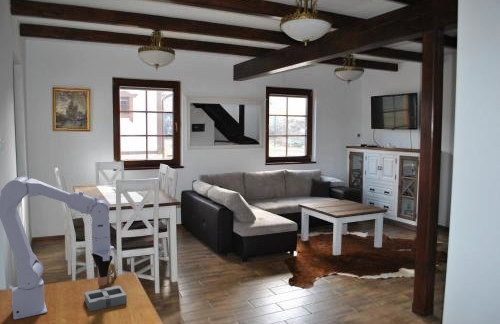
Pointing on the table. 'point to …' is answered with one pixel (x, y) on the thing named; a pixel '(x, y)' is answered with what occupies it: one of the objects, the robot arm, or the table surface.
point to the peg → (101, 279)
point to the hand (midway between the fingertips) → (102, 274)
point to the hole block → (105, 298)
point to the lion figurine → (111, 267)
